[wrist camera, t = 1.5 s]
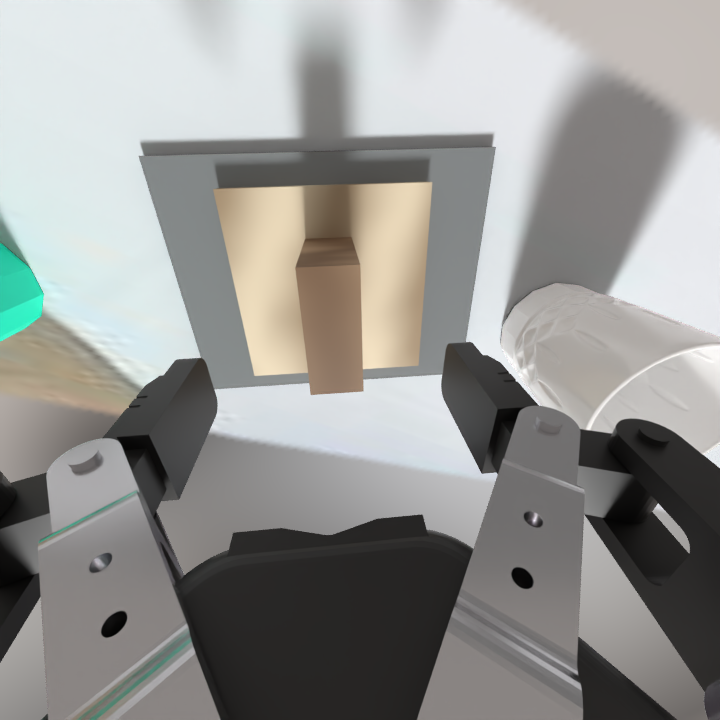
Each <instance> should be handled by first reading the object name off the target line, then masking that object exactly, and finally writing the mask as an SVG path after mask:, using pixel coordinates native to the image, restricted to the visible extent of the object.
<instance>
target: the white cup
mask: <svg viewBox="0 0 720 720" xmlns="http://www.w3.org/2000/svg"><path fill="white" fill-rule="evenodd" d="M501 347H502V350H503V352H504V354H505V356H506V358H507V360H508V362H509V363H510V364H511V365H512V366H513V368H514V369H515V370H516V371H517V372H518V374H519V376H520V378H521V379H522V381H523V382H524V383H525V385H526V386H527V387H528V389H529V390H530V391H531V392H532V394H533V395H534V397H535V398H536V399H537V401H538V402H539V403H540V405H541V406H544V407H549V408H553V409H556V410H558V411H560V412H563V413H564V414H566V415H568V416H569V417H571V418H572V419H573V420H574V421H575V422H576V423H577V424H578V426H579V428H580V429H584V430H591V431H598V432H605V433H613V431H614V428H615V426H616V424H617V423H618V422H619V421H621V420H623V419H629V418H632V419H642V420H647V421H650V422H654V423H656V424H659V425H661V426H664V427H666V428H668V429H670V430H672V431H673V432H675V433H676V434H678V435H679V436H680V437H682V438H683V439H684V440H685V441H687V442H688V443H689V444H690V445H692V446H693V447H694V448H695V449H696V450H698V451H699V452H700V453H701V454H703V455H705V454H706V453H708V452H710V451H711V450H713V449H714V448H715V447H717V446H718V445H720V337H719V336H716V335H713V334H711V333H708V332H705V331H703V330H700V329H698V328H695V327H692V326H690V325H687V324H684V323H682V322H679V321H677V320H674V319H671V318H669V317H666V316H664V315H661V314H659V313H656V312H653V311H651V310H648V309H645V308H643V307H640V306H637V305H633V304H630V303H627V302H625V301H622V300H620V299H618V298H614V297H611V296H608V295H604V294H600V293H597V292H594V291H592V290H589V289H587V288H584V287H582V286H579V285H574V284H562V283H554V284H551V285H549V286H546V287H543V288H540V289H537V290H534V291H532V292H531V293H530V294H529V295H528V296H526V297H525V298H524V299H523V300H521V301H520V302H519V303H518V304H517V305H515V306H514V308H513V309H512V311H511V313H510V314H509V316H508V318H507V319H506V321H505V323H504V324H503V327H502V336H501Z"/></svg>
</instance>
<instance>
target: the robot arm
mask: <svg viewBox="0 0 720 720" xmlns="http://www.w3.org/2000/svg"><path fill="white" fill-rule="evenodd" d="M441 387H442V395H443V398H444V400H445V402H446V404H447V406H448V408H449V410H450V412H451V414H452V416H453V418H454V420H455V422H456V424H457V426H458V428H459V430H460V432H461V434H462V436H463V438H464V440H465V442H466V444H467V446H468V448H469V449H470V451H471V453H472V455H473V457H474V459H475V461H476V463H477V465H478V467H479V469H480V471H481V473H482V474H483V473H494V472H497V474H498V476H497V479H496V482H495V485H494V488H493V491H492V494H491V497H490V501H489V503H488V506H487V509H486V512H485V516H484V519H483V522H482V525H481V528H480V531H479V534H478V537H477V540H476V543H475V546H474V549H473V548H471V547H470V546H468V545H467V544H465V543H463V542H461V541H459V540H458V539H456V538H453V537H451V536H448V535H446V534H443V533H439V532H436V531H432V530H426V526H425V522H424V519H423V515H412V516H402V517H392V518H381V519H376V520H373V521H370V522H367V523H365V524H362V525H359V526H356V527H353V528H351V529H348V530H345V531H342V532H340V533H336V534H333V535H321V534H314V533H308V532H302V531H295V530H288V529H283V528H280V529H269V530H258V531H247V532H237V533H233V536H232V540H231V544H230V548H229V550H227V551H224V552H222V553H220V554H218V555H216V556H213V557H211V558H210V559H208V560H206V561H204V562H203V563H201V564H199V565H198V566H196V567H195V568H194V569H192V570H191V571H190V572H188V573H187V574H186V575H184V573H183V571H182V568H181V566H180V564H179V562H178V559H177V557H176V555H175V552H174V550H173V548H172V545H171V543H170V540H169V538H168V536H167V533H166V531H165V528H164V526H163V524H162V521H161V519H160V517H159V515H158V513H157V511H156V510H157V508H158V506H159V504H160V502H161V501H168V500H179V499H180V496H181V494H182V492H183V489H184V487H185V485H186V483H187V480H188V478H189V475H190V473H191V471H192V469H193V467H194V464H195V462H196V460H197V458H198V455H199V453H200V451H201V448H202V446H203V444H204V442H205V439H206V437H207V435H208V433H209V430H210V428H211V426H212V423H213V421H214V419H215V417H216V413H217V397H216V394H215V391H214V387H213V384H212V381H211V377H210V374H209V371H208V367H207V364H206V362H205V360H204V359H202V358H194V359H178V360H176V361H175V362H174V363H173V364H172V365H171V367H170V368H169V369H168V371H167V372H166V373H165V374H164V376H159V377H158V378H156V379H155V380H153V381H152V382H150V383H149V384H147V385H146V386H145V387H144V388H143V389H142V390H141V392H140V393H139V394H138V395H137V399H134V400H133V401H132V403H131V404H130V405H129V408H127V409H126V410H125V411H124V412H123V414H122V415H121V416H120V417H119V418H118V420H117V421H116V422H115V423H114V425H113V426H112V427H111V428H110V430H109V431H108V432H107V433H106V434H105V436H104V437H103V438H102V439H97V440H92V441H89V442H86V443H83V444H81V445H79V446H76V447H74V448H73V449H71V450H69V451H67V452H66V453H64V454H63V455H62V456H60V457H59V458H58V459H57V460H56V461H55V462H54V463H53V464H52V465H51V466H50V468H49V469H48V472H47V473H44V474H40V475H37V476H34V477H30V478H26V479H23V480H20V481H16V482H13V483H10V482H9V481H8V479H7V478H6V477H5V476H4V475H3V473H2V472H0V662H1V661H2V659H3V657H4V656H5V654H6V652H7V651H8V649H9V647H10V646H11V644H12V642H13V641H14V639H15V638H16V636H17V634H18V633H19V631H20V629H21V628H22V626H23V624H24V622H25V621H26V619H27V618H28V616H29V614H30V613H31V611H32V610H33V608H34V606H35V605H36V603H37V601H38V600H39V598H40V597H41V609H42V624H43V625H42V626H43V641H44V658H45V673H46V691H47V706H48V714H47V715H46V716H45V717H44V718H43V719H42V720H677V719H676V718H675V717H673V716H672V715H671V714H670V713H669V712H667V711H666V710H665V709H664V708H662V707H661V706H660V705H659V704H658V703H656V701H654V700H653V699H652V698H651V697H650V696H648V695H647V694H646V693H645V692H643V691H642V690H641V689H640V688H639V687H638V686H636V685H635V684H634V683H633V682H632V681H631V680H629V679H628V678H627V677H626V676H625V675H623V674H622V673H621V672H620V671H618V669H616V668H615V667H614V666H613V665H612V664H610V663H609V662H608V661H607V660H606V659H605V658H603V657H602V656H601V655H600V654H599V653H597V652H596V651H595V650H594V649H593V648H591V647H590V646H589V645H588V644H587V643H586V642H584V641H583V640H582V639H581V638H580V637H578V630H579V629H578V628H579V608H580V587H581V586H580V585H581V565H582V544H583V524H584V515H585V516H586V517H587V519H588V520H589V522H590V523H591V525H592V526H593V528H594V529H595V531H596V532H597V534H598V535H599V537H600V538H601V540H602V541H603V542H604V544H605V545H606V547H607V548H608V550H609V551H610V553H611V554H612V556H613V557H614V559H615V560H616V562H617V563H618V565H619V566H620V567H621V569H622V571H623V572H624V573H625V575H626V577H627V578H628V579H629V581H630V582H631V584H632V585H633V587H634V588H635V590H636V591H637V593H638V594H639V595H640V597H641V599H642V600H643V602H644V603H645V605H646V606H647V608H648V609H649V610H650V612H651V613H652V615H653V616H654V618H655V619H656V621H657V622H658V624H659V625H660V627H661V628H662V630H663V631H664V632H665V634H666V636H667V637H668V638H669V640H670V641H671V643H672V644H673V646H674V647H675V649H676V650H677V652H678V653H679V655H680V656H681V658H682V659H683V661H684V662H685V663H686V665H687V667H688V668H689V669H690V671H691V672H692V674H693V675H694V677H695V678H696V680H697V681H698V683H699V684H700V686H701V687H702V689H703V690H704V692H705V694H704V706H705V711H706V715H707V718H708V720H720V468H719V467H717V466H716V465H715V464H714V463H712V462H711V461H710V460H709V459H708V458H706V457H705V456H704V455H703V454H701V453H700V452H699V451H698V450H696V449H695V448H694V447H693V446H692V445H690V444H689V443H688V442H687V441H685V440H684V439H683V438H682V437H680V436H679V435H678V434H676V433H675V432H673V431H672V430H670V429H668V428H666V427H664V426H661V425H659V424H656V423H654V422H650V421H647V420H642V419H632V418H629V419H623V420H621V421H619V422H618V423H617V424H616V426H615V428H614V431H613V433H605V432H598V431H591V430H584V429H580V428H579V426H578V424H577V423H576V422H575V421H574V420H573V419H572V418H571V417H569V416H568V415H566V414H564V413H563V412H560V411H558V410H556V409H553V408H549V407H544V406H539V405H538V404H537V403H536V402H535V401H534V400H533V399H532V398H531V396H530V395H529V394H528V393H527V392H526V391H525V390H524V389H523V388H522V386H521V385H520V384H519V383H518V382H516V381H515V379H514V377H513V376H512V375H511V374H509V372H508V371H507V370H506V368H505V367H504V366H503V365H502V364H501V363H500V362H498V361H496V360H495V359H493V358H491V357H489V356H488V355H484V356H483V355H482V354H481V353H480V352H479V350H478V349H477V348H476V347H475V346H474V344H473V343H471V342H463V343H449V344H448V345H447V347H446V351H445V359H444V367H443V375H442V383H441ZM658 503H659V504H660V505H661V507H662V508H663V509H664V510H665V511H666V512H667V513H668V514H669V515H670V516H671V517H672V518H673V520H674V521H675V522H676V523H677V524H678V525H679V526H680V527H681V528H682V530H683V531H684V532H685V534H686V536H687V538H688V540H689V544H690V553H688V552H687V551H686V550H685V549H684V548H683V546H682V545H681V544H680V543H679V542H678V541H677V540H676V538H675V537H674V536H673V535H672V534H671V533H670V532H669V530H668V529H667V528H666V527H665V526H664V525H663V524H662V522H661V521H660V520H659V519H658V518H657V517H656V516H655V514H654V513H653V512H652V511H653V510H654V508H655V507H656V505H657V504H658Z"/></svg>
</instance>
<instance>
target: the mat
mask: <svg viewBox="0 0 720 720" xmlns="http://www.w3.org/2000/svg"><path fill="white" fill-rule="evenodd" d="M495 148H496V147H470V148H431V149H392V150H352V151H313V152H274V153H235V154H196V155H156V156H139V159H140V162H141V165H142V168H143V171H144V175H145V178H146V181H147V184H148V188H149V191H150V194H151V197H152V200H153V204H154V207H155V210H156V213H157V217H158V220H159V223H160V226H161V230H162V233H163V236H164V239H165V242H166V246H167V249H168V252H169V255H170V259H171V262H172V265H173V268H174V272H175V275H176V278H177V281H178V284H179V288H180V291H181V294H182V297H183V301H184V304H185V307H186V310H187V314H188V317H189V320H190V323H191V326H192V330H193V333H194V336H195V339H196V343H197V346H198V349H199V352H200V356H201V358H202V359H204V360H205V362H206V364H207V367H208V371H209V374H210V377H211V381H212V384H213V387H214V389H224V388H240V387H255V386H270V385H286V384H301V383H309V376H308V373H295V374H279V375H263V376H254V371H253V367H252V362H251V358H250V353H249V349H248V344H247V340H246V335H245V331H244V326H243V322H242V317H241V313H240V308H239V304H238V299H237V295H236V290H235V286H234V281H233V277H232V272H231V268H230V263H229V259H228V254H227V250H226V245H225V241H224V236H223V232H222V227H221V223H220V218H219V214H218V209H217V205H216V200H215V196H214V191H213V189H217V188H239V187H271V186H303V185H335V184H367V183H399V182H432V194H431V207H430V220H429V233H428V246H427V259H426V273H425V286H424V299H423V312H422V325H421V338H420V351H419V365H418V366H405V367H389V368H374V369H363V379H378V378H393V377H408V376H424V375H439V374H443V367H444V359H445V351H446V347H447V345H448V344H449V343H463V342H466V336H467V330H468V323H469V317H470V310H471V304H472V297H473V291H474V284H475V278H476V271H477V265H478V258H479V252H480V245H481V239H482V232H483V226H484V220H485V213H486V207H487V200H488V194H489V187H490V181H491V174H492V168H493V161H494V155H495Z"/></svg>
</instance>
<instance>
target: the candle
mask: <svg viewBox="0 0 720 720" xmlns="http://www.w3.org/2000/svg"><path fill="white" fill-rule="evenodd" d="M43 296H44V294H43V292H42V290H41V288H40V286H39V284H38V282H37V280H36V279H35V277H34V275H33V273H32V271H31V269H30V268H29V267H28V266H27V265H26V264H25V263H24V262H23V261H21V260H20V259H19V258H18V257H17V256H16V255H14V254H13V253H12V252H11V251H10V250H9V249H7V248H6V247H5V246H4V245H3V244H1V243H0V341H2V340H4V339H6V338H8V337H10V336H12V335H14V334H15V333H17V332H19V331H21V330H23V329H25V328H26V327H28V326H29V325H30V324H31V323H33V322H34V321H35V320H37V319H38V318H39V317H41V315H42V305H43Z"/></svg>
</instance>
